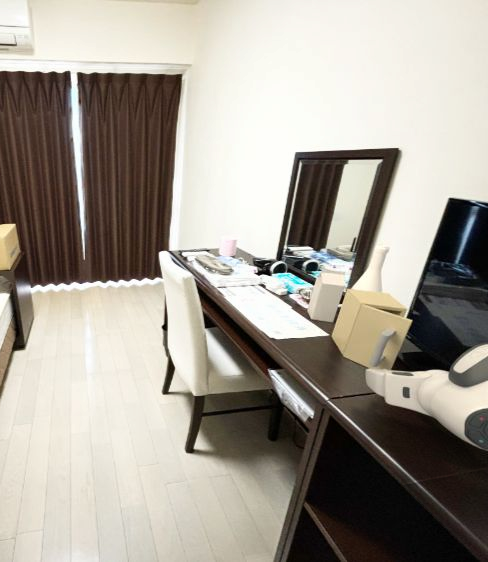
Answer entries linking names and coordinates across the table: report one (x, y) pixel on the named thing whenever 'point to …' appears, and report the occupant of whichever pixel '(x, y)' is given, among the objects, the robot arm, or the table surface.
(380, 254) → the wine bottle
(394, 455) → the table surface
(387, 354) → the fridge door
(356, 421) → the table surface
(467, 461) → the table surface
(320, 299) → the milk carton
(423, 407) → the robot arm
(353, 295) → the fridge
